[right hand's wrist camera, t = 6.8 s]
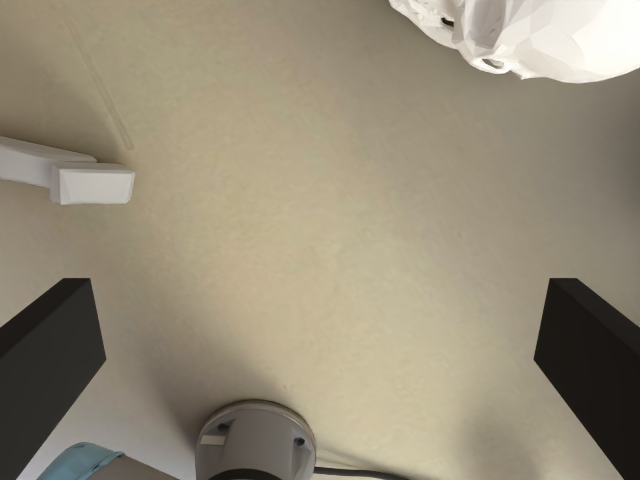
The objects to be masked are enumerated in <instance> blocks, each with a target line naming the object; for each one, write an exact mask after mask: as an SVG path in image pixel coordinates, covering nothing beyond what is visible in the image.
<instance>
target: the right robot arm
mask: <svg viewBox="0 0 640 480" xmlns="http://www.w3.org/2000/svg"><path fill="white" fill-rule="evenodd" d="M105 361H106V355H105V350H104V345H103V340H102V335H101V330H100V325H99V320H98V315H97V310H96V305H95V300H94V295H93V290H92V285H91V280H90V278H63V279H62V280H60V281H59V282H58V283H57V284H55V285H54V286H53V287H52V288H50V289H49V290H48V291H46V292H45V293H44V294H43V295H41V296H40V297H39V298H38V299H36V300H35V301H34V302H32V303H31V304H30V305H29V306H27V307H26V308H25V309H24V310H22V311H21V312H20V313H18V314H17V315H16V316H15V317H13V318H12V319H11V320H10V321H8V322H7V323H6V324H4V325H3V326H2V327H1V328H0V480H16V479H17V478H18V476H19V475H20V474H21V472H22V471H23V470H24V468H25V467H26V466H27V464H28V463H29V462H30V460H31V459H32V458H33V456H34V455H35V454H36V452H37V451H38V450H39V448H40V447H41V446H42V444H43V443H44V442H45V440H46V439H47V438H48V436H49V435H50V434H51V432H52V431H53V430H54V428H55V427H56V426H57V424H58V423H59V422H60V421H61V419H62V418H63V417H64V415H65V414H66V413H67V411H68V410H69V409H70V407H71V406H72V405H73V403H74V402H75V401H76V399H77V398H78V397H79V395H80V394H81V393H82V391H83V390H84V389H85V387H86V386H87V385H88V383H89V382H90V381H91V379H92V378H93V377H94V375H95V374H96V373H97V371H98V370H99V369H100V367H101V366H102V365H103V364H104V362H105ZM534 361H535V362H536V364H537V365H538V366H539V367H540V369H541V370H542V371H543V373H544V374H545V375H546V377H547V378H548V379H549V381H550V382H551V383H552V385H553V386H554V387H555V389H556V390H557V391H558V393H559V394H560V395H561V397H562V398H563V399H564V401H565V402H566V403H567V405H568V406H569V407H570V409H571V410H572V411H573V413H574V414H575V415H576V417H577V418H578V419H579V421H580V422H581V423H582V424H583V426H584V427H585V428H586V430H587V431H588V432H589V434H590V435H591V436H592V438H593V439H594V440H595V442H596V443H597V444H598V446H599V447H600V448H601V450H602V451H603V452H604V454H605V455H606V456H607V458H608V459H609V460H610V462H611V463H612V464H613V466H614V467H615V468H616V470H617V471H618V472H619V474H620V475H621V476H622V478H623V479H624V480H640V328H639V327H638V326H637V325H636V324H634V323H633V322H632V321H630V320H629V319H628V318H627V317H625V316H624V315H623V314H622V313H620V312H619V311H618V310H616V309H615V308H614V307H613V306H611V305H610V304H609V303H608V302H606V301H605V300H604V299H602V298H601V297H600V296H599V295H597V294H596V293H595V292H594V291H592V290H591V289H590V288H588V287H587V286H586V285H585V284H583V283H582V282H581V281H580V280H578V279H577V278H550V280H549V285H548V290H547V295H546V300H545V305H544V310H543V315H542V320H541V325H540V330H539V335H538V340H537V345H536V350H535V355H534ZM315 462H316V443H315V438H314V435H313V433H312V431H311V429H310V427H309V426H308V424H307V423H306V422H305V421H304V420H303V419H302V418H301V417H300V416H299V415H298V414H296V413H295V412H294V411H292V410H290V409H288V408H286V407H284V406H282V405H279V404H276V403H272V402H268V401H260V400H248V401H241V402H236V403H233V404H230V405H227V406H225V407H223V408H221V409H219V410H218V411H216V412H215V413H214V414H212V415H211V416H210V417H209V418H208V419H207V421H206V422H205V423H204V425H203V427H202V429H201V431H200V434H199V437H198V440H197V443H196V449H195V467H196V480H310V479H311V476H312V474H313V473H317V474H328V475H340V476H363V477H373V478H379V479H385V480H410V479H406V478H403V477H399V476H395V475H391V474H387V473H382V472H376V471H369V470H347V469H334V468H323V467H314V466H315ZM37 480H179V479H177V478H175V477H173V476H170V475H168V474H166V473H164V472H161V471H159V470H157V469H155V468H153V467H150V466H148V465H146V464H144V463H141V462H139V461H137V460H135V459H132V458H130V457H128V456H126V455H125V453H124V452H114V451H111V450H109V449H106V448H103V447H101V446H98V445H95V444H93V443H88V442H82V443H78V444H75V445H73V446H71V447H69V448H68V449H66V450H65V451H64V452H62V453H61V454H60V455H59V456H58V457H57V458H56V459H55V460H54V461H53V462H52V463H51V464H50V465H49V466H48V467H47V468H46V469H45V471H44V472H43V473H42V474H41V475H40V476H39V477H38V478H37Z"/></svg>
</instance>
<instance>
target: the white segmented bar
mask: <svg viewBox="0 0 640 480" xmlns="http://www.w3.org/2000/svg"><path fill="white" fill-rule="evenodd" d="M134 178H135V172H134V171H133V170H131V169H130V168H128V167H126V166H125V165H122V164H118V163H97V160H96V159H95V158H94V157H92V156H91V155H87V154H82V153H77V152H73V151H68V150H63V149H59V148H54V147H49V146H44V145H40V144H35V143H30V142H26V141H21V140H16V139H12V138H7V137H2V136H0V179H4V180H11V181H16V182H21V183H26V184H31V185H36V186H41V187H46V188H50V189H51V192H50V201H53V202H56V203H59V204H62V205H65V204H86V203H93V204H125V203H127V202H128V201H129V200H130V199H131V195H132V189H133V184H134Z"/></svg>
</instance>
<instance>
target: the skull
mask: <svg viewBox="0 0 640 480" xmlns="http://www.w3.org/2000/svg"><path fill="white" fill-rule="evenodd" d="M389 2H390V5H391V7H393V8H394V9H396V10H397V11H399V12H400V13H402V14H403V15H405V16H406V17H408V18H409V19H410V20H411V21H412V22H413V23H414V24H415V25H417V26H418V27H419V28H420V29H421V30H422V31H423V32H424V33H425V34H426V35H428V36H429V37H431V38H432V39H433V40H435V41H436V42H438V43H440V44H442V45H444V46H447V47H450V48H453V49H458V50H459V52H460V53H461V55H462V56H463V58H464V59H465V60H466V61H467V62H468V63H469V64H470V65H472V66H474V67H475V68H477V69H479V70H482V71H486V72H490V73H494V74H504V73H506V72H508V71H509V70H511V71H512V72H514V73H515V74H516V75H517V76H518V77H519V78H521V80H522V79H527V78H533V77H549V78H552V79H555V80H559V81H562V82H568V83H586V82H595V81H602V80H606V79H609V78H613V77H616V76H619V75H623V74H626V73H628V72H631V71H633V70H635V69H637V68H639V67H640V0H389ZM443 17H444V18H445V19H446V20H449V21H454V27H452V26H450V25H447V24H444V23H443V22H442V18H443ZM482 59H488V60H489V61H491V62H492V63H493V64H494V65H497V66H500V68H497V69H495V68H493V67H491V66H489V65H487V64H485V63H484V62H483V60H482Z"/></svg>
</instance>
